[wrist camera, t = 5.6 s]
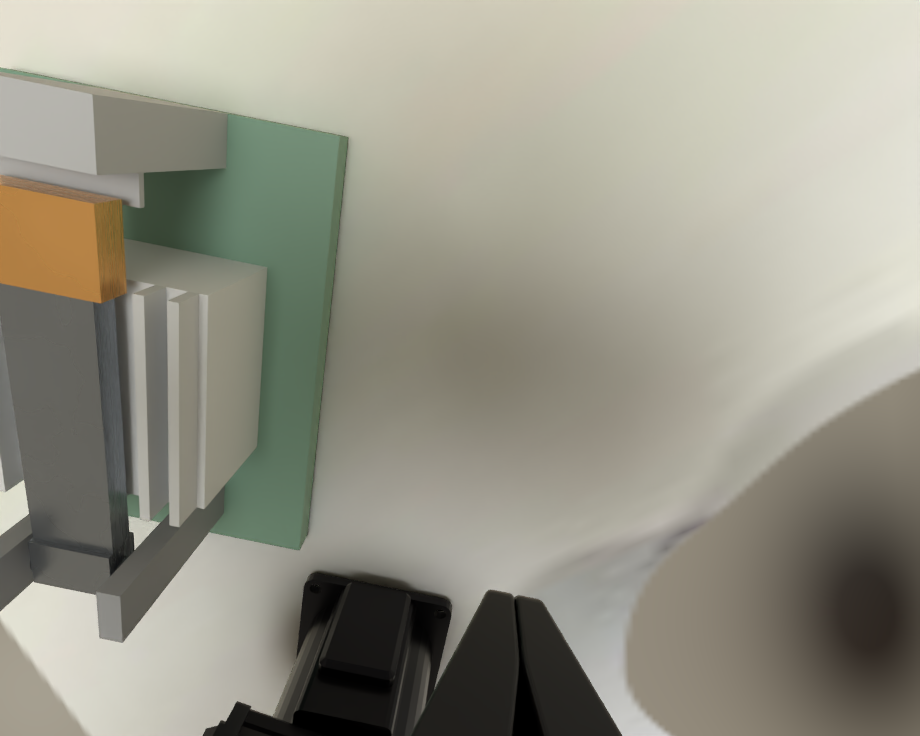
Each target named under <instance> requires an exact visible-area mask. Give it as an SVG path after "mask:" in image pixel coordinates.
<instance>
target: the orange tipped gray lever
mask: <svg viewBox="0 0 920 736" xmlns="http://www.w3.org/2000/svg"><path fill="white" fill-rule="evenodd" d="M126 293H127V285H126V266H125V248H124V229H123V211H122V199H118V198H113V197H108V196H103V195H98V194H93V193H88V192H83V191H78V190H73V189H68V188H63V187H58V186H53V185H48V184H43V183H38V182H33V181H29V180H24V179H19V178H14V177H9V176H4V175H0V321H1V327H2V334H3V341H4V348H5V354H6V361H7V368H8V374H9V381H10V388H11V394H12V401H13V408H14V414H15V421H16V428H17V434H18V441H19V448H20V454H21V461H22V468H23V475H24V481H25V488H26V495H27V501H28V508H29V515H30V521H31V528H32V535H33V538H32V539H31V540H30V541H29V542H28V547H29V553H30V569H31V570H32V573H33V579H34V582H36V583H41V584H46V585H50V586H55V587H60V588H65V589H70V590H75V591H80V592H85V593H90V594H95V595H96V591H97V590H98V589H99V588H100V587H101V586H102V585H103V584H104V583H105V582H106V581H107V580H108V578H109V577H110V576H111V575H112V574H113V573H114V572H115V571H116V570H117V569H118V568H119V567H120V566H121V565H122V563H123V562H124V561H125V560H126V559H127V558H128V557H129V556H130V555H131V554H132V553H133V552H134V535H133V533H132V532H129V522H128V506H127V490H126V474H125V458H124V443H123V427H122V411H121V395H120V380H119V364H118V348H117V332H116V317H115V301H114V298H116V297H119V296H121V295H124V294H126Z"/></svg>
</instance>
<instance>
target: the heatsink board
mask: <svg viewBox="0 0 920 736" xmlns="http://www.w3.org/2000/svg"><path fill="white" fill-rule="evenodd" d="M347 144H348V137H345V136H340V135H335V134H330V133H326V132H321V131H316V130H311V129H306V128H301V127H296V126H291V125H286V124H281V123H276V122H271V121H266V120H261V119H256V118H251V117H246V116H241V115H236V114H231V113H226V112H221V111H216V110H211V109H206V108H201V107H196V106H191V105H186V104H181V103H176V102H171V101H166V100H161V99H156V98H151V97H146V96H141V95H137V94H132V93H127V92H122V91H117V90H112V89H107V88H102V87H97V86H92V85H87V84H82V83H77V82H72V81H67V80H62V79H57V78H52V77H47V76H42V75H37V74H32V73H27V72H22V71H17V70H12V69H6V68H0V175H4V176H9V177H14V178H19V179H24V180H29V181H33V182H38V183H43V184H48V185H53V186H58V187H63V188H68V189H73V190H78V191H83V192H88V193H93V194H98V195H103V196H108V197H113V198H118V199H122V211H123V229H124V248H125V266H126V285H127V293H126V294H124V295H121V296H119V297H116V298H114V301H115V317H116V332H117V348H118V364H119V380H120V395H121V411H122V427H123V443H124V458H125V474H126V490H127V506H128V516H132V517H137V518H140V519H141V520H146V521H151V520H152V521H157V522H161V523H160V524H159V525H158V526H157V527H156V528H155V529H154V530H153V531H152V532H151V533H150V534H149V536H148V537H147V538H146V539H145V540H144V541H143V542H142V543H141V544H140V545H139V546H138V547H137V548H136V550H135V551H134V552H133V553H132V554H131V555H130V556H129V557H128V558H127V559H126V560H125V561H124V562H123V563H122V565H121V566H120V567H119V568H118V569H117V570H116V571H115V572H114V573H113V574H112V575H111V576H110V577H109V578H108V580H107V581H106V582H105V583H104V584H103V585H102V586H101V587H100V588H99V589H98V590H97V591H96V597H97V610H98V624H99V637H100V638H102V639H107V640H112V641H116V642H121V643H123V642H124V640H125V639H126V638H127V636H128V635H129V634H130V633H131V631H132V630H133V629H134V628H135V626H136V625H137V624H138V622H139V621H140V620H141V619H142V617H143V616H144V615H145V613H146V612H147V611H148V610H149V608H150V607H151V606H152V604H153V603H154V602H155V601H156V599H157V598H158V597H159V596H160V594H161V593H162V592H163V590H164V589H165V588H166V587H167V585H168V584H169V583H170V581H171V580H172V579H173V578H174V576H175V575H176V574H177V572H178V571H179V570H180V569H181V567H182V566H183V565H184V563H185V562H186V561H187V560H188V558H189V557H190V556H191V555H192V553H193V552H194V551H195V549H196V548H197V547H198V546H199V544H200V543H201V542H202V540H203V539H204V538H205V537H206V535H207V534H208V533H209V532H211V533H216V534H221V535H226V536H231V537H235V538H240V539H245V540H250V541H255V542H260V543H265V544H270V545H275V546H280V547H285V548H290V549H295V550H300V548H301V546H302V544H303V542H304V540H305V538H306V536H307V533H308V523H309V513H310V504H311V494H312V484H313V474H314V465H315V455H316V445H317V436H318V426H319V416H320V407H321V397H322V387H323V377H324V368H325V358H326V348H327V339H328V329H329V319H330V309H331V300H332V290H333V280H334V271H335V261H336V251H337V241H338V232H339V222H340V212H341V203H342V193H343V183H344V174H345V164H346V154H347ZM22 480H24V475H23V468H22V461H21V454H20V448H19V441H18V434H17V428H16V421H15V414H14V408H13V401H12V394H11V388H10V381H9V374H8V368H7V361H6V354H5V348H4V341H3V334H2V327H1V321H0V491H3V492H6V491H8V490H9V489H11V488H12V487H14V486H15V485H17V484H18V483H19V482H21V481H22ZM32 538H33V535H32V528H31V521H30V515H29V514H28V515H27V516H26V517H25V518H23V519H22V520H21V521H19V522H18V523H17V524H15V525H14V526H13V527H11V528H10V529H9V530H7V531H6V532H5V533H3V534H2V535H1V536H0V611H1V610H2V609H3V608H4V607H5V606H7V605H8V604H9V603H10V602H11V601H12V600H13V599H14V598H15V597H16V596H18V595H19V594H20V593H21V592H22V591H23V590H24V589H25V588H26V587H27V586H29V585H30V584H31V583H32V582H33V581H34V579H33V573H32V570H31V569H30V553H29V547H28V542H29V541H30V540H31V539H32Z"/></svg>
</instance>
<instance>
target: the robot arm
mask: <svg viewBox="0 0 920 736" xmlns="http://www.w3.org/2000/svg"><path fill="white" fill-rule="evenodd" d="M314 584H316V585H319V586H320V587H317V586H315V585H314ZM437 610H443V612H440V611H437ZM451 614H452V605H451V603H450V602H449V601H448V600H445V599H443V598H438V597H433V596H428V595H423V594H418V593H413V592H408V591H403V590H398V589H393V588H388V587H384V586H379V585H374V584H369V583H364V582H359V581H354V580H349V579H344V578H339V577H334V576H329V575H324V574H320V573H314V574H311V575H310V576H309V577H308V579H307V581H306V583H305V585H304V592H303V601H302V611H301V621H300V630H299V640H298V649H297V659H296V662H295V664H294V667H293V669H292V671H291V674H290V676H289V679H288V681H287V684H286V686H285V688H284V691H283V693H282V696H281V698H280V701H279V703H278V705H277V708H276V710H275V713H274V715H273V717H272V716H269V715H266V714H263V713H260V712H257V711H255V710H252V709H251V706H249V705H246V704H244V703H241V702H238V701H237V702H236V704H235V706H234V708H233V710H232V712H231V713H230V715H229V717H228V719H227V721H226V722H225V721H222V720H221V721H220V723H219V725H218V726H215V727H211V728H207V729H206V730H205V732H204V734H203V736H622V734H621V733H620V731H619V729H618V728H617V726H616V724H615V723H614V721H613V719H612V718H611V716H610V714H609V712H608V711H607V709H606V707H605V706H604V704H603V702H602V701H601V699H600V697H599V696H598V694H597V692H596V691H595V689H594V687H593V686H592V684H591V682H590V680H589V679H588V677H587V675H586V674H585V672H584V670H583V669H582V667H581V665H580V664H579V662H578V660H577V659H576V657H575V655H574V654H573V652H572V650H571V648H570V647H569V645H568V643H567V642H566V640H565V638H564V637H563V635H562V633H561V632H560V630H559V628H558V627H557V625H556V623H555V622H554V620H553V618H552V616H551V615H550V613H549V611H548V610H547V608H546V606H545V605H544V603H543V602H542V601H541V600H539V599H535V598H530V597H525V596H520V595H518V596H516V597H515V598H514V597H513V595H512V594H510V593H506V592H501V591H496V590H488V591H487V592H486V594H485V595H484V597H483V599H482V601H481V603H480V605H479V607H478V609H477V611H476V612H475V614H474V616H473V618H472V620H471V622H470V624H469V626H468V627H467V629H466V631H465V633H464V635H463V637H462V639H461V641H460V642H459V644H458V646H457V648H456V650H455V652H454V654H453V656H452V657H451V659H450V661H449V663H448V665H447V667H446V669H445V671H444V672H443V674H442V676H441V678H440V680H439V682H438V684H437V686H436V687H435V683H436V679H437V674H438V670H439V666H440V662H441V658H442V653H443V649H444V645H445V641H446V637H447V632H448V628H449V624H450V620H451ZM434 687H435V689H434Z"/></svg>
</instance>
